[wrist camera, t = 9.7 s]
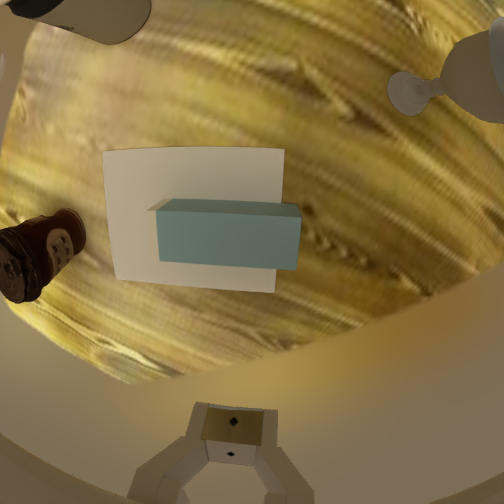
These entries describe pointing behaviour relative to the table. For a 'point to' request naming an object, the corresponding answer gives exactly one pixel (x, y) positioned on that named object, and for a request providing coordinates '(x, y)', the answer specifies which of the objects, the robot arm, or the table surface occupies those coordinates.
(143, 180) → the mat
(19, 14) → the travel mug
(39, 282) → the coffee cup
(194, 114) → the table surface
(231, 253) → the long block
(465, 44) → the chalice
